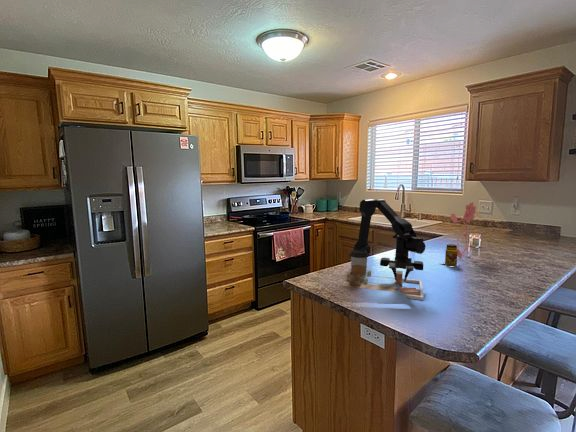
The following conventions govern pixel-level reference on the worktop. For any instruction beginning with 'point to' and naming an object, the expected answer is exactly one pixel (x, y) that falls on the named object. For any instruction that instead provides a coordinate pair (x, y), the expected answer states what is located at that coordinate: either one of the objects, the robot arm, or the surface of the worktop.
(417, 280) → the lane tray
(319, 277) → the worktop surface
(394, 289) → the tan long flat piece
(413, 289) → the reddish brown block
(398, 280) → the tan rectangular frame
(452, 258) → the condiment
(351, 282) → the walnut cube
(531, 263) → the worktop surface
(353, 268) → the coffee cup
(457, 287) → the worktop surface
